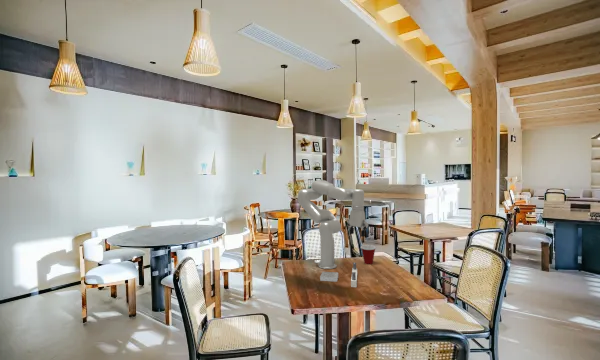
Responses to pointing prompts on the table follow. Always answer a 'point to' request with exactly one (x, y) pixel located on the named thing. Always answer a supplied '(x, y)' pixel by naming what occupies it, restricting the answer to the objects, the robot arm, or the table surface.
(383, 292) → the table surface
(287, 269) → the table surface
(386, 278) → the table surface
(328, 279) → the metal plate
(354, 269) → the bar
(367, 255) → the plastic cup
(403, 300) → the table surface
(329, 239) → the robot arm
